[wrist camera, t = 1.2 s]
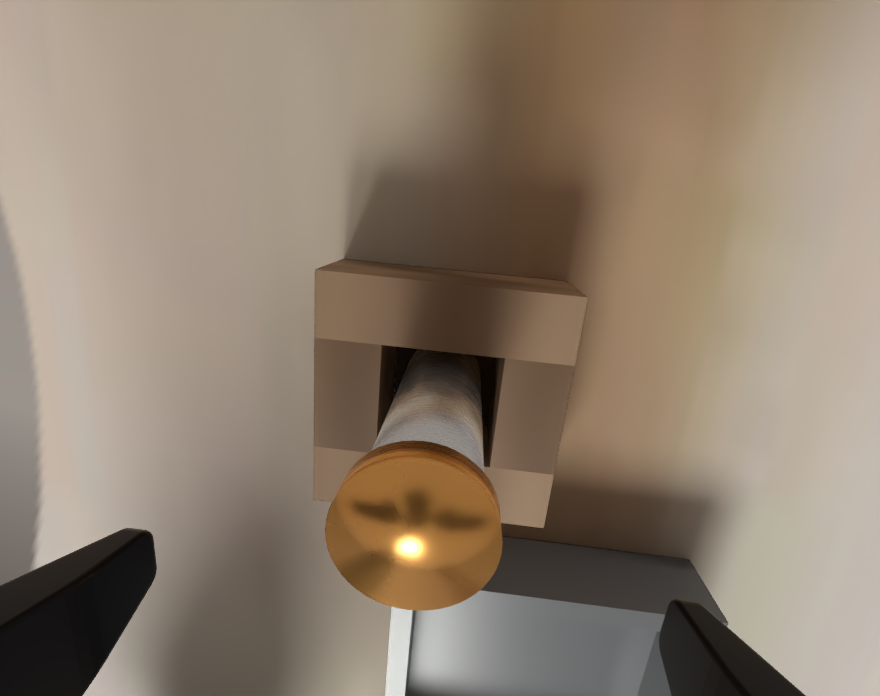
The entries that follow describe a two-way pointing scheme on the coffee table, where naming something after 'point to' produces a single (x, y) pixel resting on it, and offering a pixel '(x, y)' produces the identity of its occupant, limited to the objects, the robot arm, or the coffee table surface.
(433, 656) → the tray
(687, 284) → the coffee table surface
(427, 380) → the lock pin
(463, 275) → the block
